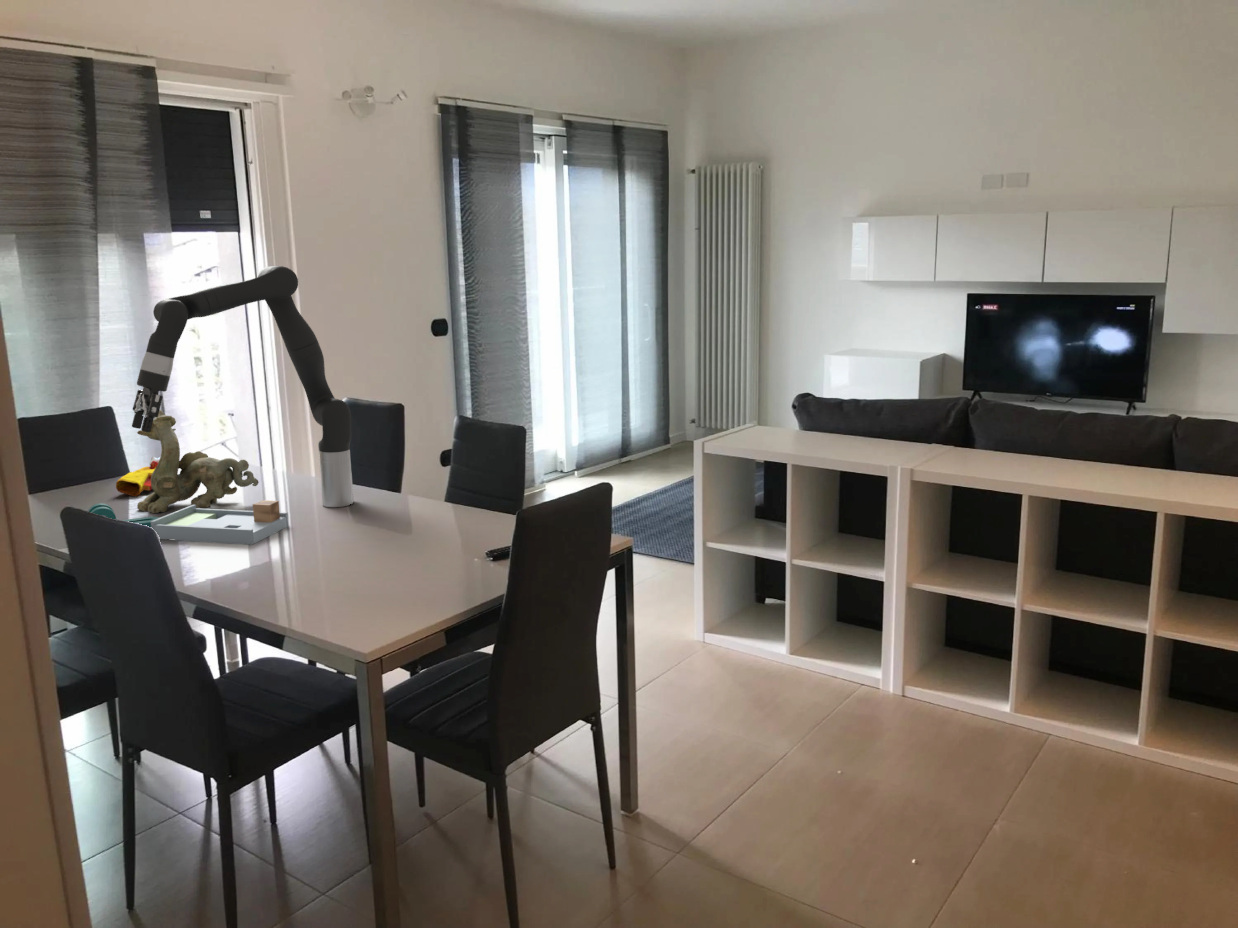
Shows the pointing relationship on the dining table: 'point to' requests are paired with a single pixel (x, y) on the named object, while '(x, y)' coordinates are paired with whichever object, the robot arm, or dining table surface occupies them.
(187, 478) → the sculpture
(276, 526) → the tray
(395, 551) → the dining table surface
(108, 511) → the bracket
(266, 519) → the block
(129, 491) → the toy
